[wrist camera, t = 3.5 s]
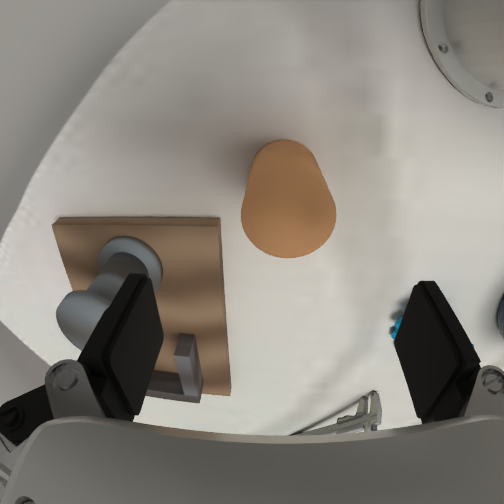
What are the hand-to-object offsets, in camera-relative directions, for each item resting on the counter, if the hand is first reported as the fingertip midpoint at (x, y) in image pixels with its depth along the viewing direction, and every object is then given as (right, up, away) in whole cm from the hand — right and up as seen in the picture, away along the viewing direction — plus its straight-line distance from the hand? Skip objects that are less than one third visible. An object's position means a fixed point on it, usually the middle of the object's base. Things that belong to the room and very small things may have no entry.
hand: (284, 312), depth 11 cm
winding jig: (-12, -5, +21) cm, 25 cm away
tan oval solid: (+1, +8, +13) cm, 15 cm away
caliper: (+9, -23, +31) cm, 40 cm away
